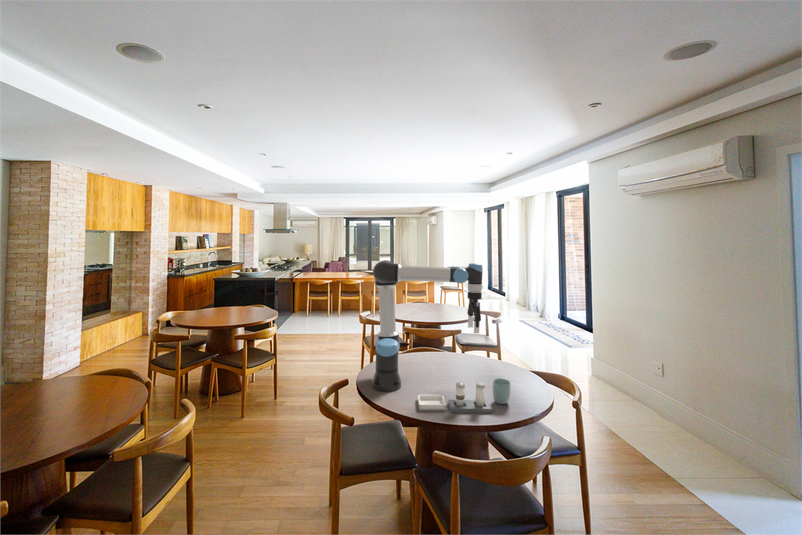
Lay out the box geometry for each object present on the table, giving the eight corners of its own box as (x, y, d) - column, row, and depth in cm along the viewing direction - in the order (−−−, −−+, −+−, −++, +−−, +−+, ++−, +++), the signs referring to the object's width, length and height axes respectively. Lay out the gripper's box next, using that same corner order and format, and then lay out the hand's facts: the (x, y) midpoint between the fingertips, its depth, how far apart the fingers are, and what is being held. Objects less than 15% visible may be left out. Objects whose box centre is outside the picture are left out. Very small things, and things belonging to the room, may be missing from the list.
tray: (419, 410, 154) (419, 405, 154) (417, 399, 165) (417, 394, 165) (446, 410, 155) (446, 405, 154) (442, 399, 166) (442, 394, 165)
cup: (489, 403, 163) (490, 381, 162) (496, 397, 169) (497, 377, 168) (506, 407, 158) (506, 386, 158) (512, 402, 164) (512, 381, 164)
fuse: (476, 410, 155) (477, 385, 155) (474, 406, 159) (474, 382, 159) (485, 410, 155) (486, 386, 155) (483, 406, 159) (483, 382, 159)
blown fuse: (456, 410, 155) (456, 385, 155) (454, 406, 159) (455, 382, 159) (465, 410, 155) (465, 385, 155) (463, 406, 159) (463, 382, 159)
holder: (451, 412, 153) (451, 408, 152) (448, 403, 162) (448, 399, 161) (492, 412, 153) (492, 408, 153) (487, 403, 162) (487, 400, 162)
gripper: (488, 294, 178) (486, 335, 179) (475, 289, 203) (474, 325, 204) (473, 294, 178) (472, 335, 179) (463, 288, 203) (461, 325, 204)
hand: (473, 330), depth 192 cm, fingers open, 13 cm apart
